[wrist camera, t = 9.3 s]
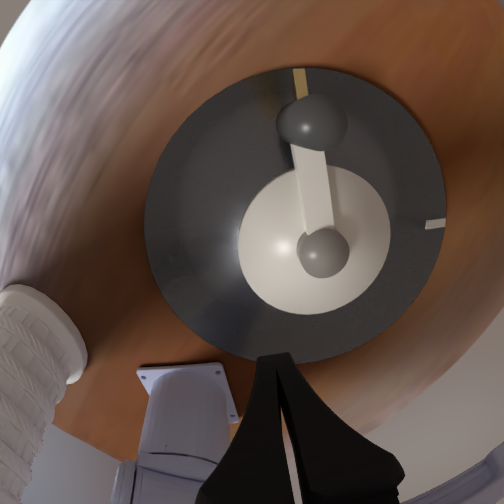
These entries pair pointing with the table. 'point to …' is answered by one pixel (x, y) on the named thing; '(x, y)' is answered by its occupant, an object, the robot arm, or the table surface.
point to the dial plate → (253, 179)
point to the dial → (313, 220)
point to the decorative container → (31, 378)
